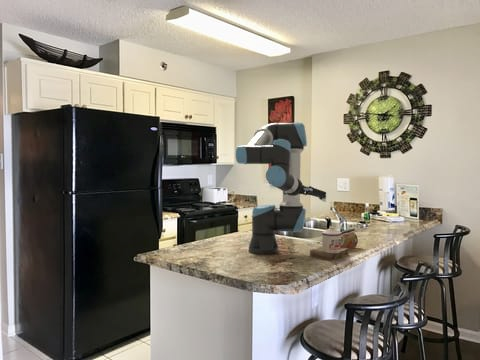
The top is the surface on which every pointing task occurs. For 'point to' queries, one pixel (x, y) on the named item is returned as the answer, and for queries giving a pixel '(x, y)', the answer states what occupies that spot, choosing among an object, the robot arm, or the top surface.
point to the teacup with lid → (332, 241)
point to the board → (328, 254)
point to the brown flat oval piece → (349, 240)
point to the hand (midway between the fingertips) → (311, 197)
